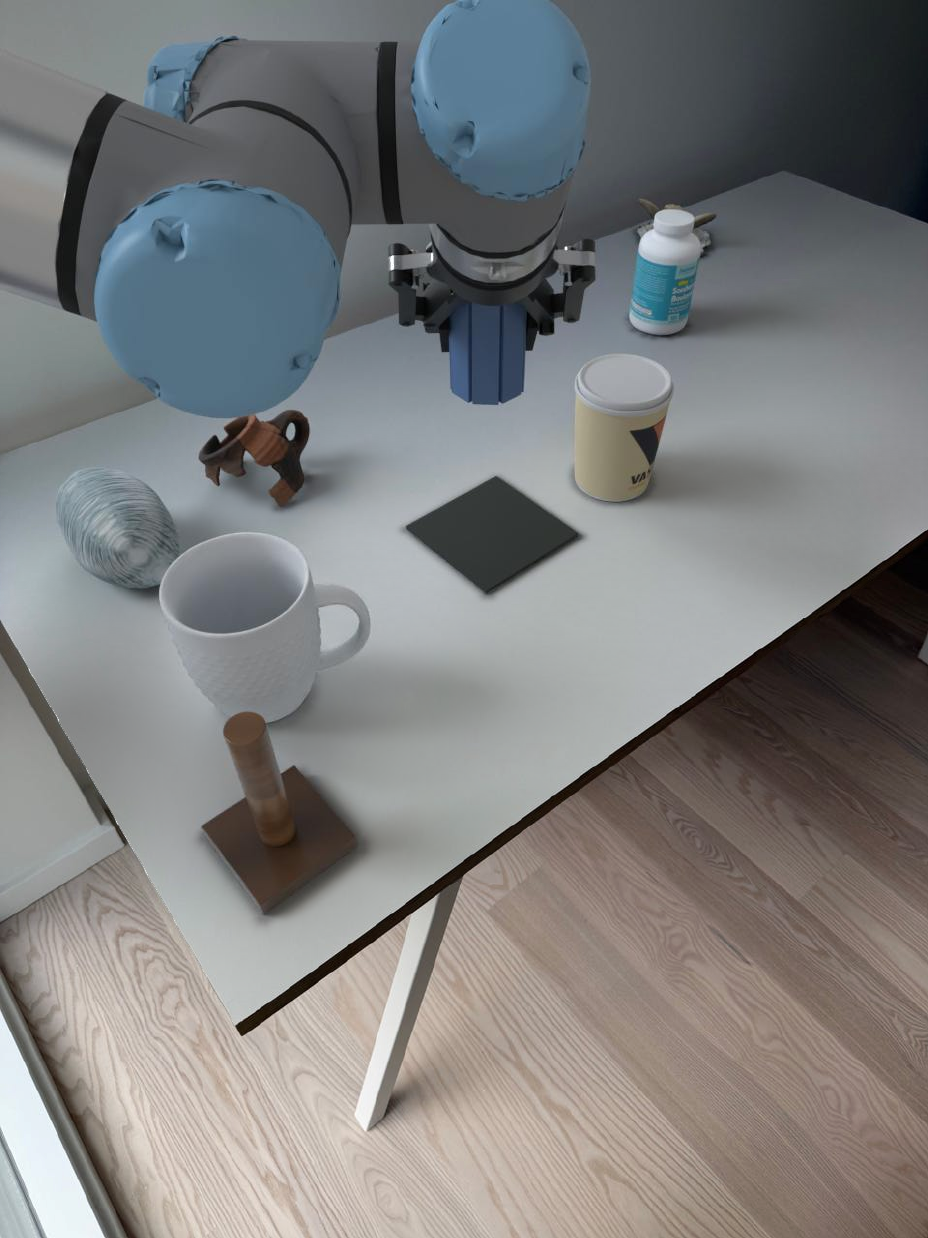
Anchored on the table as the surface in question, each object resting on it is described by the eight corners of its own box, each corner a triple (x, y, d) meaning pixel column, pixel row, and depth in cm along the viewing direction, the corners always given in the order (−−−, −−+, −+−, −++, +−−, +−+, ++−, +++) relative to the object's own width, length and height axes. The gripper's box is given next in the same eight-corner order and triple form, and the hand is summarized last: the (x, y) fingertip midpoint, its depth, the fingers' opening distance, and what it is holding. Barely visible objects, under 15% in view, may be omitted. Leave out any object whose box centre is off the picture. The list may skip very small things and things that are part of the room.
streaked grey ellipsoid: (71, 536, 89) (5, 501, 80) (137, 468, 90) (79, 424, 80) (155, 624, 85) (96, 598, 76) (224, 552, 86) (174, 517, 76)
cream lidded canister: (641, 517, 89) (659, 415, 80) (553, 493, 92) (561, 391, 83) (667, 464, 95) (686, 363, 86) (584, 443, 97) (594, 343, 88)
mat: (405, 528, 88) (405, 525, 88) (496, 478, 93) (496, 475, 93) (486, 594, 82) (486, 590, 82) (578, 536, 87) (578, 533, 87)
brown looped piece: (266, 529, 89) (212, 466, 84) (229, 520, 96) (177, 462, 92) (346, 449, 93) (297, 385, 88) (304, 446, 100) (257, 387, 96)
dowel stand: (205, 836, 65) (154, 722, 55) (297, 775, 69) (265, 657, 58) (263, 915, 61) (220, 808, 51) (358, 846, 65) (335, 732, 54)
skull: (730, 247, 129) (730, 190, 122) (676, 283, 128) (673, 228, 121) (675, 217, 136) (672, 161, 129) (623, 250, 135) (617, 197, 127)
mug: (365, 623, 79) (350, 511, 70) (389, 720, 72) (375, 609, 63) (195, 656, 77) (155, 544, 67) (202, 760, 70) (158, 650, 60)
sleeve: (436, 382, 74) (432, 278, 67) (490, 356, 76) (491, 253, 70) (484, 413, 71) (484, 307, 64) (539, 385, 73) (544, 280, 67)
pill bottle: (674, 343, 111) (693, 235, 101) (619, 328, 114) (632, 222, 104) (695, 317, 116) (715, 211, 106) (641, 303, 118) (656, 199, 108)
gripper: (330, 290, 51) (373, 382, 74) (661, 284, 51) (601, 378, 74) (327, 158, 51) (371, 291, 74) (660, 151, 51) (600, 287, 74)
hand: (486, 334), depth 74 cm, fingers closed on sleeve, 6 cm apart
